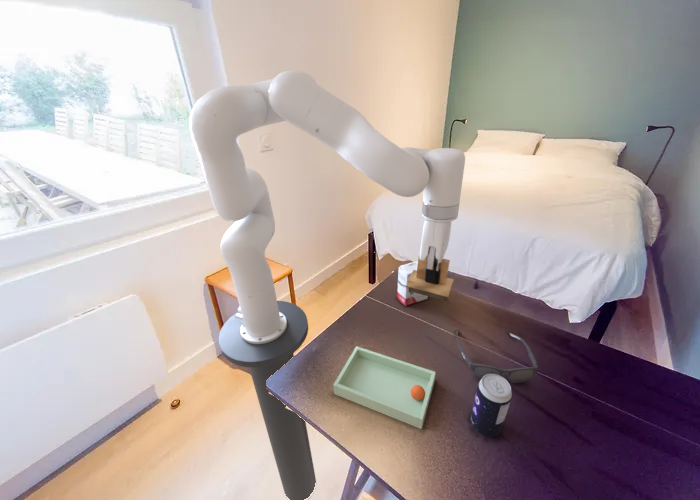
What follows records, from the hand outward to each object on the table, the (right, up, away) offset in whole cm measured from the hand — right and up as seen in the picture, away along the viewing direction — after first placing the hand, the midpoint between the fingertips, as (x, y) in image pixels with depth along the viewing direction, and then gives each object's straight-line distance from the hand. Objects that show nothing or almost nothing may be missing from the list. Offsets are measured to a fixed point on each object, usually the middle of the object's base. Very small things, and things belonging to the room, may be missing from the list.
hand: (433, 279), depth 76 cm
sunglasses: (+15, -19, +1) cm, 24 cm away
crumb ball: (-6, -23, -9) cm, 26 cm away
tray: (-12, -24, -5) cm, 27 cm away
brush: (0, -3, +2) cm, 4 cm away
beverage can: (+7, -28, -14) cm, 32 cm away
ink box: (-1, -8, +22) cm, 24 cm away
